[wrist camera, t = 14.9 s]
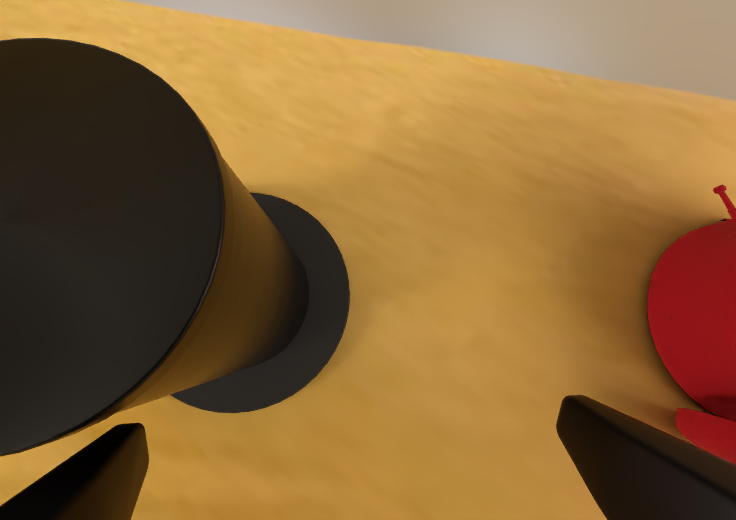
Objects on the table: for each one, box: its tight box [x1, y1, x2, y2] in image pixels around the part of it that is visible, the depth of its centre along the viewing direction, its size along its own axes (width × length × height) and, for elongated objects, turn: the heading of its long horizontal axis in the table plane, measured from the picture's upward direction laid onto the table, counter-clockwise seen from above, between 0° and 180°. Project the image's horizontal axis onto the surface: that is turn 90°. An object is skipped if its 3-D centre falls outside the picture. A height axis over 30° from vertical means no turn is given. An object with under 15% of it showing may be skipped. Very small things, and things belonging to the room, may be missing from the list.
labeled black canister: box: [0, 38, 309, 456], centre depth 12 cm, size 7×9×12 cm
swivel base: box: [170, 193, 350, 413], centre depth 18 cm, size 11×11×1 cm
